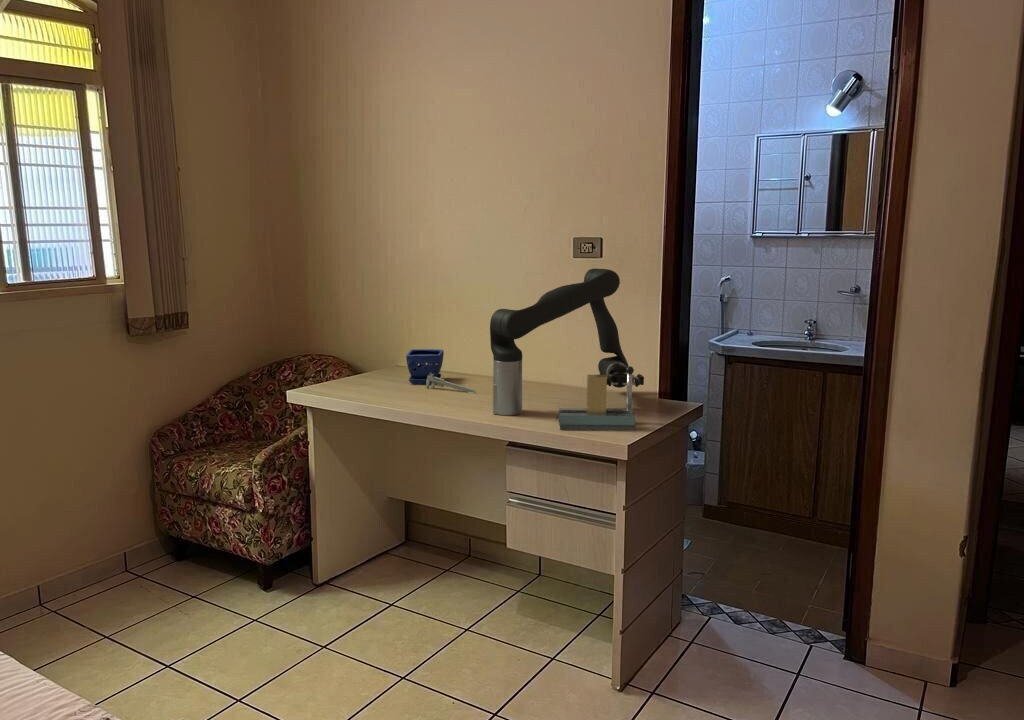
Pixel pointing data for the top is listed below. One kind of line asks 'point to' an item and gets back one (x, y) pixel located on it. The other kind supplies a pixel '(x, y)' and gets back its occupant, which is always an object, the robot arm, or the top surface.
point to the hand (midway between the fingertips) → (623, 383)
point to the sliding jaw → (610, 410)
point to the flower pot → (424, 364)
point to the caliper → (442, 382)
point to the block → (596, 393)
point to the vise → (596, 421)
